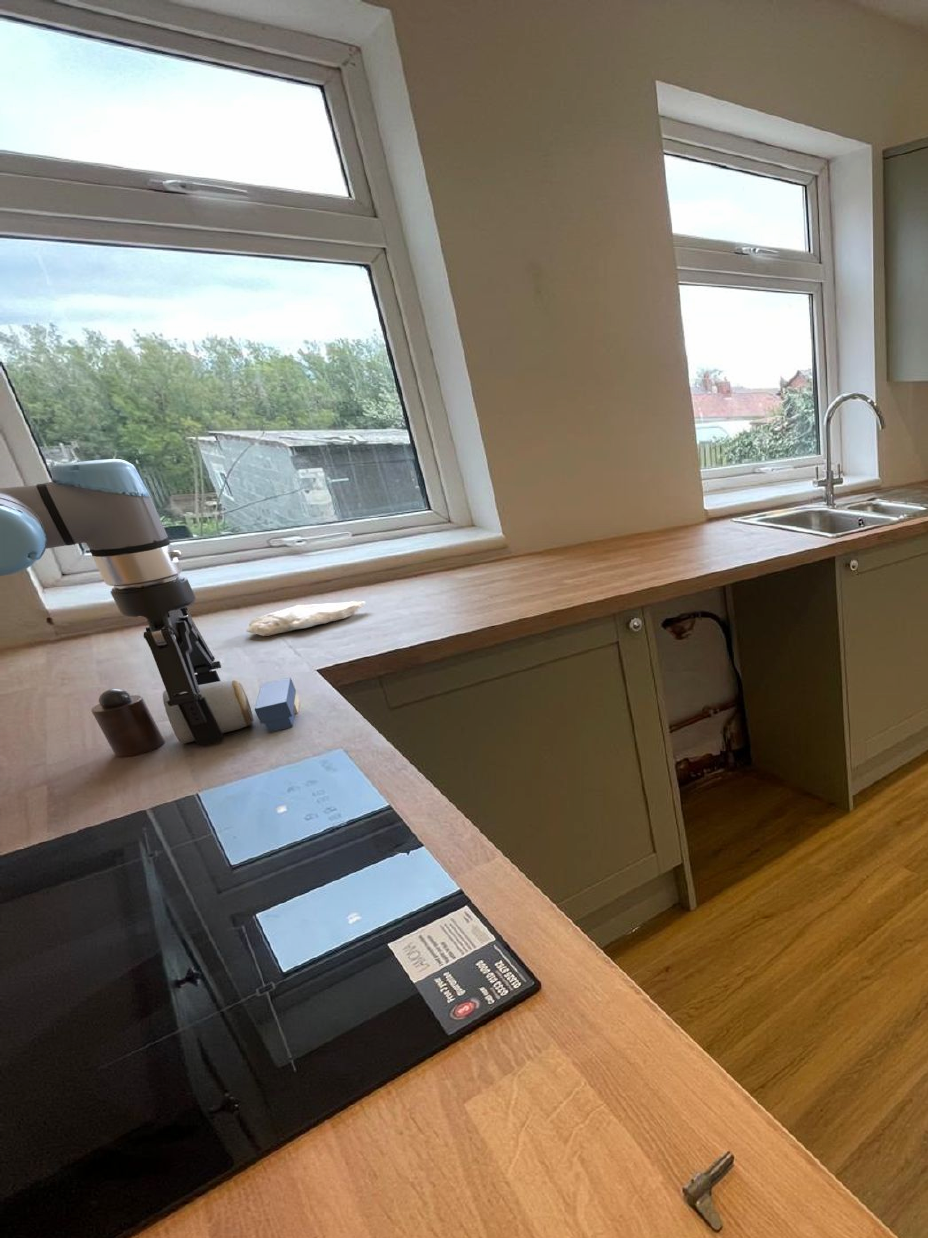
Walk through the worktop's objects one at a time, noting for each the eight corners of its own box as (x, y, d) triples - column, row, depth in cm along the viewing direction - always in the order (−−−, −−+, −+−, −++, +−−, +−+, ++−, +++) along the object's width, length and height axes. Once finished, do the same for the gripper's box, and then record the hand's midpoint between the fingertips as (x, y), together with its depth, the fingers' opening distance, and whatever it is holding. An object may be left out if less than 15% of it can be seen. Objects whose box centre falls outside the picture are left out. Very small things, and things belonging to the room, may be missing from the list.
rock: (248, 628, 146) (364, 606, 158) (249, 646, 136) (373, 620, 148) (241, 611, 144) (359, 589, 156) (242, 627, 135) (367, 603, 147)
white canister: (258, 730, 103) (236, 682, 100) (182, 751, 98) (157, 701, 95) (255, 709, 110) (235, 663, 107) (184, 727, 106) (161, 679, 103)
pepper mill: (111, 761, 97) (78, 701, 93) (120, 746, 100) (89, 688, 97) (161, 749, 99) (131, 690, 96) (167, 735, 103) (139, 678, 99)
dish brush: (296, 726, 104) (286, 701, 102) (265, 734, 102) (254, 708, 100) (300, 700, 112) (290, 677, 111) (271, 707, 110) (261, 683, 109)
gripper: (169, 594, 88) (241, 749, 97) (198, 558, 106) (256, 692, 115) (84, 608, 84) (167, 768, 93) (129, 568, 102) (195, 706, 111)
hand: (216, 726), depth 104 cm, fingers closed on white canister, 11 cm apart
